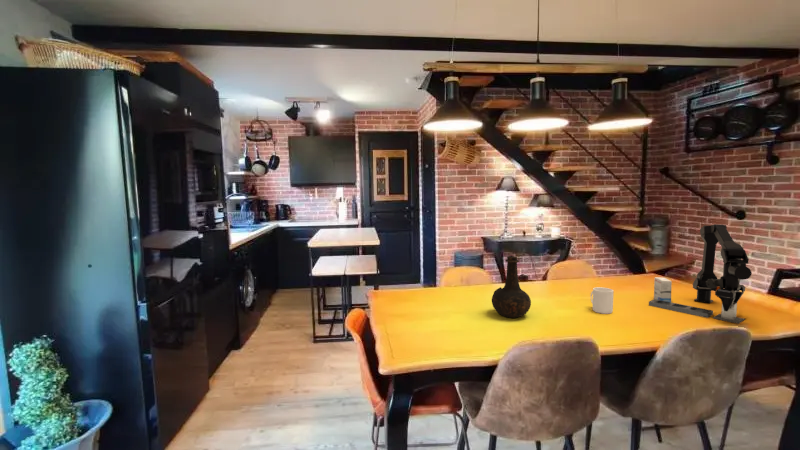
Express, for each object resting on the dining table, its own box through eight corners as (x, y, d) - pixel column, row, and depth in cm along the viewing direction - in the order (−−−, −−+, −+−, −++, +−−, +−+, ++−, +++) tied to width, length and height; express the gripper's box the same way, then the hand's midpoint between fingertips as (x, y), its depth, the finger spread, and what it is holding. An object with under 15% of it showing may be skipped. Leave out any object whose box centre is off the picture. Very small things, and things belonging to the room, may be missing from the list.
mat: (719, 314, 177) (719, 313, 177) (744, 319, 170) (744, 318, 170) (712, 318, 172) (712, 317, 172) (738, 323, 165) (738, 322, 165)
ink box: (671, 303, 194) (672, 281, 193) (660, 303, 195) (661, 280, 194) (663, 299, 203) (664, 277, 202) (653, 298, 204) (654, 276, 203)
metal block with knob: (724, 315, 174) (725, 299, 173) (736, 318, 170) (737, 301, 170) (721, 317, 171) (722, 301, 171) (733, 320, 168) (734, 303, 167)
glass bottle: (503, 306, 193) (504, 251, 191) (537, 314, 180) (538, 255, 178) (484, 315, 181) (484, 256, 178) (518, 324, 168) (519, 261, 165)
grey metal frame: (654, 302, 196) (654, 299, 196) (712, 314, 177) (713, 310, 176) (648, 305, 192) (648, 301, 192) (707, 317, 173) (708, 313, 172)
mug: (597, 305, 192) (598, 285, 191) (617, 313, 181) (617, 291, 180) (583, 307, 190) (583, 286, 189) (601, 315, 179) (602, 292, 178)
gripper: (715, 269, 181) (713, 301, 182) (701, 274, 170) (699, 308, 172) (746, 272, 172) (744, 306, 173) (734, 279, 161) (731, 315, 163)
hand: (729, 309), depth 171 cm, fingers open, 9 cm apart
